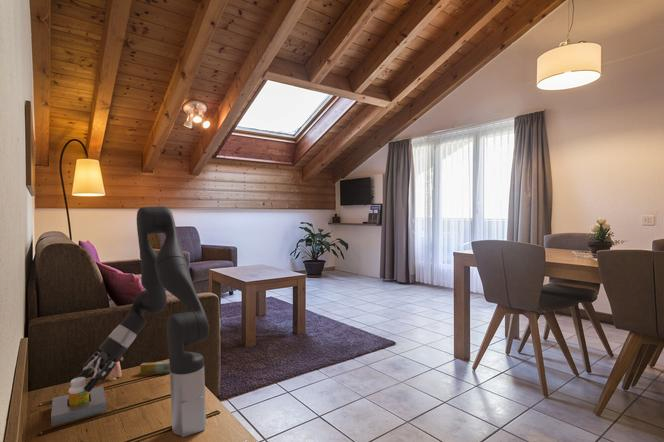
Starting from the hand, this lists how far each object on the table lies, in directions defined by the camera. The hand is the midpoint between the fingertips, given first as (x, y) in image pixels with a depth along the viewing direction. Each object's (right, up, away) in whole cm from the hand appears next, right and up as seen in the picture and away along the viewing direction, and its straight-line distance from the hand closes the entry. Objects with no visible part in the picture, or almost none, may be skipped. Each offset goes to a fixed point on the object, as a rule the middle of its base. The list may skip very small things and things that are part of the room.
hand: (81, 386), depth 122 cm
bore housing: (0, -7, -1) cm, 7 cm away
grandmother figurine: (-2, -7, +23) cm, 24 cm away
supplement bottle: (0, -7, -1) cm, 7 cm away
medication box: (+12, -6, +27) cm, 30 cm away
